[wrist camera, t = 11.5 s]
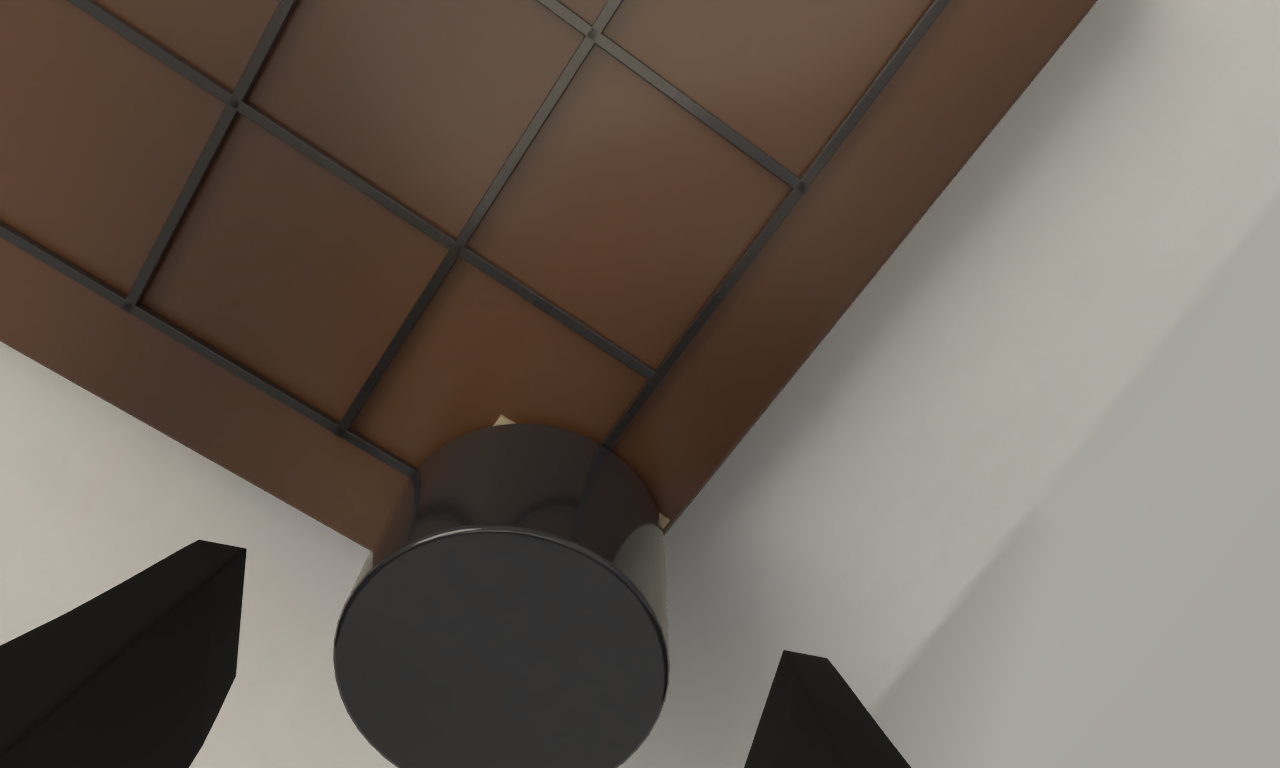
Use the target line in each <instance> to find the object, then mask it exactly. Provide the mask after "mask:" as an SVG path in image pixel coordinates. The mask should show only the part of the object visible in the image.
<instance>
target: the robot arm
mask: <svg viewBox="0 0 1280 768" xmlns="http://www.w3.org/2000/svg"><path fill="white" fill-rule="evenodd" d="M245 561H246V549H245V548H240V547H235V546H229V545H224V544H219V543H214V542H208V541H203V540H198V541H196V542H194V543H192V544H190V545H188V546H186V547H184V548H183V549H181V550H179V551H177V552H175V553H174V554H172V555H170V556H168V557H167V558H165V559H163V560H161V561H159V562H158V563H156V564H154V565H152V566H151V567H149V568H147V569H145V570H144V571H142V572H140V573H138V574H137V575H135V576H133V577H131V578H130V579H128V580H126V581H124V582H123V583H121V584H119V585H117V586H115V587H113V588H112V589H110V590H108V591H106V592H104V593H102V594H101V595H99V596H97V597H95V598H93V599H91V600H90V601H88V602H86V603H84V604H82V605H81V606H79V607H77V608H75V609H73V610H71V611H70V612H68V613H66V614H64V615H62V616H60V617H58V618H56V619H54V620H52V621H50V622H48V623H46V624H44V625H42V626H39V627H37V628H35V629H33V630H31V631H29V632H27V633H25V634H23V635H21V636H19V637H17V638H15V639H13V640H11V641H9V642H7V643H5V644H3V645H1V646H0V768H189V766H190V765H191V763H192V762H193V760H194V758H195V757H196V755H197V754H198V752H199V750H200V749H201V747H202V746H203V744H204V741H205V739H206V737H207V735H208V733H209V731H210V729H211V727H212V725H213V723H214V721H215V719H216V717H217V715H218V713H219V711H220V709H221V707H222V705H223V702H224V700H225V698H226V696H227V694H228V692H229V690H230V687H231V685H232V683H233V681H234V679H235V677H236V668H237V656H238V644H239V632H240V620H241V608H242V596H243V584H244V572H245ZM744 768H911V767H910V766H909V764H908V763H907V762H906V760H905V759H904V758H903V757H902V755H901V754H900V753H899V752H898V750H897V749H896V748H895V747H894V745H893V744H892V743H891V741H890V740H889V739H888V737H887V736H886V735H885V734H884V732H883V731H882V730H881V728H880V727H879V726H878V724H877V723H876V722H875V720H874V719H873V718H872V716H871V715H870V714H869V712H868V711H867V710H866V708H865V707H864V706H863V704H862V703H861V702H860V700H859V699H858V698H857V696H856V695H855V694H854V692H853V691H852V690H851V688H850V687H849V686H848V684H847V683H846V682H845V680H844V679H843V678H842V676H841V675H840V674H839V673H838V671H837V670H836V669H835V667H834V666H833V665H832V664H831V663H830V661H829V660H828V659H827V658H823V657H817V656H812V655H807V654H801V653H796V652H791V651H786V650H784V651H783V654H782V656H781V659H780V662H779V665H778V668H777V671H776V674H775V677H774V680H773V683H772V686H771V689H770V692H769V695H768V698H767V701H766V704H765V707H764V710H763V713H762V716H761V719H760V722H759V725H758V728H757V731H756V734H755V737H754V740H753V743H752V746H751V749H750V752H749V755H748V758H747V761H746V764H745V766H744Z"/></svg>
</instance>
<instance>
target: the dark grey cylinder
mask: <svg viewBox="0 0 1280 768" xmlns="http://www.w3.org/2000/svg"><path fill="white" fill-rule="evenodd" d="M333 661H334V670H335V678H336V682H337V685H338V689H339V693H340V696H341V699H342V701H343V703H344V705H345V708H346V710H347V712H348V714H349V716H350V717H351V719H352V721H353V722H354V724H355V725H356V727H357V729H358V730H359V731H360V732H361V734H362V735H363V736H364V737H365V739H366V740H367V741H368V742H369V743H370V744H371V745H372V746H373V747H374V748H375V749H376V750H377V751H378V752H379V753H380V754H381V755H382V756H383V757H384V758H386V759H387V760H388V761H390V762H391V763H392V764H394V765H395V766H396V767H398V768H617V767H619V766H620V765H621V764H623V763H624V762H625V761H626V760H627V759H628V758H629V757H630V756H631V755H632V754H633V753H634V752H635V751H636V750H637V749H638V748H639V747H640V746H641V744H642V743H643V742H644V740H645V739H646V738H647V736H648V735H649V734H650V732H651V730H652V728H653V727H654V725H655V723H656V721H657V720H658V718H659V716H660V713H661V710H662V708H663V705H664V702H665V699H666V695H667V690H668V685H669V670H670V660H669V637H668V615H667V592H666V569H665V547H664V536H663V528H662V524H661V520H660V517H659V513H658V510H657V508H656V506H655V503H654V501H653V499H652V497H651V495H650V494H649V492H648V490H647V489H646V487H645V485H644V484H643V482H642V481H641V480H640V479H639V478H638V476H637V475H636V474H635V473H634V471H633V470H632V469H631V468H630V467H629V466H628V465H627V464H625V463H624V462H623V461H622V460H621V459H620V458H619V457H618V456H616V455H615V454H613V453H612V452H611V451H609V450H608V449H606V448H605V447H603V446H602V445H600V444H598V443H596V442H594V441H593V440H591V439H589V438H587V437H584V436H582V435H579V434H577V433H574V432H572V431H568V430H565V429H561V428H557V427H553V426H547V425H539V424H521V423H515V424H505V425H496V426H491V427H487V428H482V429H478V430H475V431H473V432H470V433H467V434H464V435H462V436H460V437H458V438H456V439H454V440H452V441H450V442H448V443H446V444H444V445H443V446H442V447H440V448H439V449H437V450H436V451H434V452H433V453H432V454H430V455H429V456H428V457H427V458H426V459H425V460H424V461H423V462H422V463H421V464H420V465H419V466H418V467H417V468H416V469H415V471H414V472H413V473H412V474H411V476H410V477H409V478H408V480H407V482H406V483H405V485H404V487H403V488H402V490H401V492H400V494H399V496H398V498H397V500H396V502H395V504H394V506H393V508H392V510H391V512H390V514H389V516H388V518H387V520H386V522H385V524H384V526H383V528H382V530H381V532H380V534H379V536H378V538H377V540H376V542H375V544H374V546H373V548H372V550H371V552H370V554H369V556H368V558H367V560H366V562H365V564H364V566H363V568H362V570H361V572H360V574H359V576H358V578H357V580H356V582H355V584H354V586H353V588H352V590H351V592H350V595H349V597H348V599H347V601H346V603H345V605H344V607H343V610H342V612H341V615H340V617H339V620H338V623H337V628H336V633H335V637H334V650H333Z"/></svg>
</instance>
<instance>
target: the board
mask: <svg viewBox="0 0 1280 768" xmlns="http://www.w3.org/2000/svg"><path fill="white" fill-rule="evenodd" d="M1097 1H1098V0H0V341H1V342H3V343H4V344H6V345H8V346H10V347H11V348H13V349H15V350H17V351H19V352H20V353H22V354H24V355H26V356H27V357H29V358H31V359H33V360H34V361H36V362H38V363H40V364H42V365H43V366H45V367H47V368H49V369H50V370H52V371H54V372H56V373H57V374H59V375H61V376H63V377H65V378H66V379H68V380H70V381H72V382H73V383H75V384H77V385H79V386H80V387H82V388H84V389H86V390H88V391H89V392H91V393H93V394H95V395H96V396H98V397H100V398H102V399H103V400H105V401H107V402H109V403H111V404H112V405H114V406H116V407H118V408H119V409H121V410H123V411H125V412H126V413H128V414H130V415H132V416H134V417H135V418H137V419H139V420H141V421H142V422H144V423H146V424H148V425H149V426H151V427H153V428H155V429H156V430H158V431H160V432H162V433H164V434H165V435H167V436H169V437H171V438H172V439H174V440H176V441H178V442H179V443H181V444H183V445H185V446H187V447H188V448H190V449H192V450H194V451H195V452H197V453H199V454H201V455H202V456H204V457H206V458H208V459H210V460H211V461H213V462H215V463H217V464H218V465H220V466H222V467H224V468H225V469H227V470H229V471H231V472H233V473H234V474H236V475H238V476H240V477H241V478H243V479H245V480H247V481H248V482H250V483H252V484H254V485H256V486H257V487H259V488H261V489H263V490H264V491H266V492H268V493H270V494H271V495H273V496H275V497H277V498H279V499H280V500H282V501H284V502H286V503H287V504H289V505H291V506H293V507H294V508H296V509H298V510H300V511H302V512H303V513H305V514H307V515H309V516H310V517H312V518H314V519H316V520H317V521H319V522H321V523H323V524H324V525H326V526H328V527H330V528H332V529H333V530H335V531H337V532H339V533H340V534H342V535H344V536H346V537H347V538H349V539H351V540H353V541H355V542H356V543H358V544H360V545H362V546H363V547H365V548H367V549H369V550H370V551H371V550H372V548H373V546H374V544H375V542H376V540H377V538H378V536H379V534H380V532H381V530H382V528H383V526H384V524H385V522H386V520H387V518H388V516H389V514H390V512H391V510H392V508H393V506H394V504H395V502H396V500H397V498H398V496H399V494H400V492H401V490H402V488H403V487H404V485H405V483H406V482H407V480H408V478H409V477H410V476H411V474H412V473H413V472H414V471H415V469H416V468H417V467H418V466H419V465H420V464H421V463H422V462H423V461H424V460H425V459H426V458H427V457H428V456H429V455H430V454H432V453H433V452H434V451H436V450H437V449H439V448H440V447H442V446H443V445H444V444H446V443H448V442H450V441H452V440H454V439H456V438H458V437H460V436H462V435H464V434H467V433H470V432H473V431H475V430H478V429H482V428H487V427H491V426H496V425H505V424H515V423H521V424H539V425H547V426H553V427H557V428H561V429H565V430H568V431H572V432H574V433H577V434H579V435H582V436H584V437H587V438H589V439H591V440H593V441H594V442H596V443H598V444H600V445H602V446H603V447H605V448H606V449H608V450H609V451H611V452H612V453H613V454H615V455H616V456H618V457H619V458H620V459H621V460H622V461H623V462H624V463H625V464H627V465H628V466H629V467H630V468H631V469H632V470H633V471H634V473H635V474H636V475H637V476H638V478H639V479H640V480H641V481H642V482H643V484H644V485H645V487H646V489H647V490H648V492H649V494H650V495H651V497H652V499H653V501H654V503H655V506H656V508H657V510H658V513H659V517H660V520H661V524H662V528H663V536H664V535H665V534H666V533H667V531H668V530H669V529H670V528H671V526H672V525H673V524H674V523H675V521H676V520H677V519H678V518H679V517H680V515H681V514H682V513H683V512H684V510H685V509H686V508H687V507H688V505H689V504H690V503H691V502H692V501H693V499H694V498H695V497H696V496H697V494H698V493H699V492H700V491H701V489H702V488H703V487H704V486H705V484H706V483H707V482H708V481H709V480H710V478H711V477H712V476H713V475H714V473H715V472H716V471H717V470H718V468H719V467H720V466H721V465H722V463H723V462H724V461H725V460H726V459H727V457H728V456H729V455H730V454H731V452H732V451H733V450H734V449H735V447H736V446H737V445H738V444H739V443H740V441H741V440H742V439H743V438H744V436H745V435H746V434H747V433H748V431H749V430H750V429H751V428H752V426H753V425H754V424H755V423H756V422H757V420H758V419H759V418H760V417H761V415H762V414H763V413H764V412H765V410H766V409H767V408H768V407H769V405H770V404H771V403H772V402H773V401H774V399H775V398H776V397H777V396H778V394H779V393H780V392H781V391H782V389H783V388H784V387H785V386H786V385H787V383H788V382H789V381H790V380H791V378H792V377H793V376H794V375H795V373H796V372H797V371H798V370H799V368H800V367H801V366H802V365H803V364H804V362H805V361H806V360H807V359H808V357H809V356H810V355H811V354H812V352H813V351H814V350H815V349H816V348H817V346H818V345H819V344H820V343H821V341H822V340H823V339H824V338H825V336H826V335H827V334H828V333H829V331H830V330H831V329H832V328H833V327H834V325H835V324H836V323H837V322H838V320H839V319H840V318H841V317H842V315H843V314H844V313H845V312H846V310H847V309H848V308H849V307H850V306H851V304H852V303H853V302H854V301H855V299H856V298H857V297H858V296H859V294H860V293H861V292H862V291H863V290H864V288H865V287H866V286H867V285H868V283H869V282H870V281H871V280H872V278H873V277H874V276H875V275H876V273H877V272H878V271H879V270H880V269H881V267H882V266H883V265H884V264H885V262H886V261H887V260H888V259H889V257H890V256H891V255H892V254H893V252H894V251H895V250H896V249H897V248H898V246H899V245H900V244H901V243H902V241H903V240H904V239H905V238H906V236H907V235H908V234H909V233H910V232H911V230H912V229H913V228H914V227H915V225H916V224H917V223H918V222H919V220H920V219H921V218H922V217H923V215H924V214H925V213H926V212H927V211H928V209H929V208H930V207H931V206H932V204H933V203H934V202H935V201H936V199H937V198H938V197H939V196H940V194H941V193H942V192H943V191H944V190H945V188H946V187H947V186H948V185H949V183H950V182H951V181H952V180H953V178H954V177H955V176H956V175H957V174H958V172H959V171H960V170H961V169H962V167H963V166H964V165H965V164H966V162H967V161H968V160H969V159H970V157H971V156H972V155H973V154H974V153H975V151H976V150H977V149H978V148H979V146H980V145H981V144H982V143H983V141H984V140H985V139H986V138H987V136H988V135H989V134H990V133H991V132H992V130H993V129H994V128H995V127H996V125H997V124H998V123H999V122H1000V120H1001V119H1002V118H1003V117H1004V116H1005V114H1006V113H1007V112H1008V111H1009V109H1010V108H1011V107H1012V106H1013V104H1014V103H1015V102H1016V101H1017V99H1018V98H1019V97H1020V96H1021V95H1022V93H1023V92H1024V91H1025V90H1026V88H1027V87H1028V86H1029V85H1030V83H1031V82H1032V81H1033V80H1034V79H1035V77H1036V76H1037V75H1038V74H1039V72H1040V71H1041V70H1042V69H1043V67H1044V66H1045V65H1046V64H1047V62H1048V61H1049V60H1050V59H1051V58H1052V56H1053V55H1054V54H1055V53H1056V51H1057V50H1058V49H1059V48H1060V46H1061V45H1062V44H1063V43H1064V41H1065V40H1066V39H1067V38H1068V37H1069V35H1070V34H1071V33H1072V32H1073V30H1074V29H1075V28H1076V27H1077V25H1078V24H1079V23H1080V22H1081V21H1082V19H1083V18H1084V17H1085V16H1086V14H1087V13H1088V12H1089V11H1090V9H1091V8H1092V7H1093V6H1094V4H1095V3H1096V2H1097Z"/></svg>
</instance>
